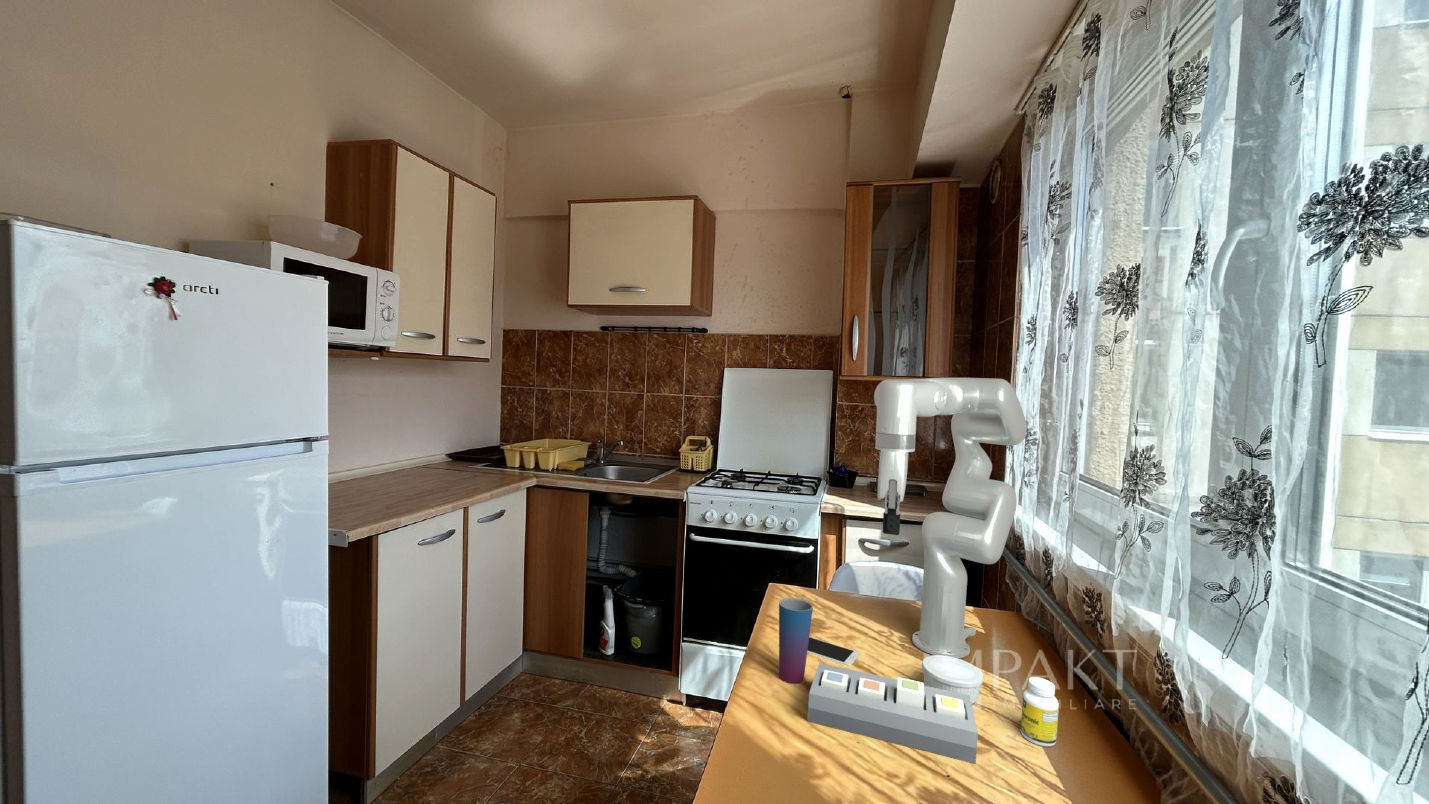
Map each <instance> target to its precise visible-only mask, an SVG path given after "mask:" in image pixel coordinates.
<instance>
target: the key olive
mask: <svg viewBox="0 0 1429 804" xmlns="http://www.w3.org/2000/svg"><path fill="white" fill-rule="evenodd" d="M896 680H897V697H896V704H901V705H905V706H909V707H914V708H918V709H922V710H923V708H924V686H925V684H924V681H923V682H921V681H916V680H913V679H907V678H904V677H901V676H900V677H899V676H897V679H896Z"/></svg>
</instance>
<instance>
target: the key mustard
mask: <svg viewBox="0 0 1429 804" xmlns="http://www.w3.org/2000/svg"><path fill="white" fill-rule="evenodd" d="M935 713H940V714H944V715H948V716H953V717H957V718H962V719H965V709H964V704H963V700H961V699H956V698H951V697H947V696H942V695H938V694H936V697H935Z"/></svg>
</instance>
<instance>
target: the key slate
mask: <svg viewBox="0 0 1429 804" xmlns="http://www.w3.org/2000/svg"><path fill="white" fill-rule="evenodd" d="M848 676H849V675H847V674H842V673H838V672H833V671H829V670H825V671H824V674H823V677H822V680H821V686H822V687H827V688H831V689H835V690H840V691H844V692H847V691H848Z"/></svg>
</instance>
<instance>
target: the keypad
mask: <svg viewBox="0 0 1429 804" xmlns="http://www.w3.org/2000/svg"><path fill="white" fill-rule="evenodd" d="M825 670H829V671H833V672H838V673H842V674H847V675H849V676H848V691H847V692H844V691H840V690H835V689H831V688H827V687H822V686H821V680H822V677H823V674H824V671H825ZM860 678H865V679H870V680H874V681H879V682H883V683H885V691H884V701H883V700H879V699H874V698H870V697H866V696H861V695H858V688H859V682H860ZM897 680H898V679H895V678H891V677H887V676H882V675H877V674H872V673H867V672H864V671H859V670H854V669H849V668H845V667H840V666H835V665H832V664H826V663H822V662H819V663H818V667H817V668H816V672H815V675H814V678H813V681H812V683H811V685H810V690H809V693H808V703H807V704H808V707H807V722H810V723H813V724H816V725H821V726H825V727H829V728H833V729H836V730H840V731H843V732H844V731H845V732H848V733H853V734H856V735H859V736H865V737H868V738H872V739H876V740H880V741H884V742H888V743H891V744H892V743H893V744H896V745H900V746H903V747H904V746H905V747H908V748H912V749H916V750H920V751H923V752H926V753H927V752H928V753H932V754H935V755H940V756H944V757H947V758H952V759H956V760H959V761H963V762H966V763H971V764H975V765H976V763H977V752H978V751H977V750H978V749H977V748H978V737H979V736H978V735H979V733H978V727H977V723H976V722H977V721H976V717H975V714H974V710H973V709H974V708H973V704H971V699H970V695H966V694H961V693H956V692H952V691H947V690H943V689H938V688H933V687H929V686H925V685H924V708H923V710H922V709H918V708H914V707H909V706H905V705H901V704H896V697H897ZM936 694H938V695H942V696H947V697H951V698H956V699H961V700H963V704H964V709H965V719H962V718H957V717H953V716H948V715H944V714H940V713H935V697H936Z"/></svg>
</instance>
